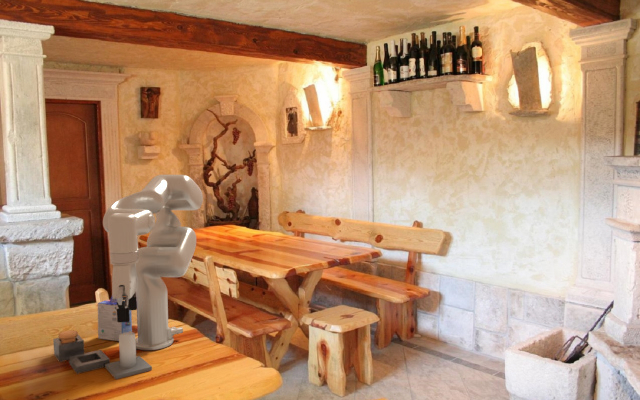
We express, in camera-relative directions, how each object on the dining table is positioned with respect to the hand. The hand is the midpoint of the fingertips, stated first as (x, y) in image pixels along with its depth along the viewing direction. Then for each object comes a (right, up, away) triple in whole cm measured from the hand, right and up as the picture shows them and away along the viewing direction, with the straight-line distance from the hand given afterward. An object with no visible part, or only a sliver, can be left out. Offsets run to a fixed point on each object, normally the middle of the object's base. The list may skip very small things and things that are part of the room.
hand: (127, 315), depth 153 cm
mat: (0, -15, +1) cm, 15 cm away
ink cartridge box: (-13, -13, +26) cm, 32 cm away
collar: (-13, -15, +4) cm, 20 cm away
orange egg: (-22, -13, +10) cm, 27 cm away
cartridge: (0, -14, +1) cm, 14 cm away
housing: (-22, -14, +11) cm, 28 cm away
